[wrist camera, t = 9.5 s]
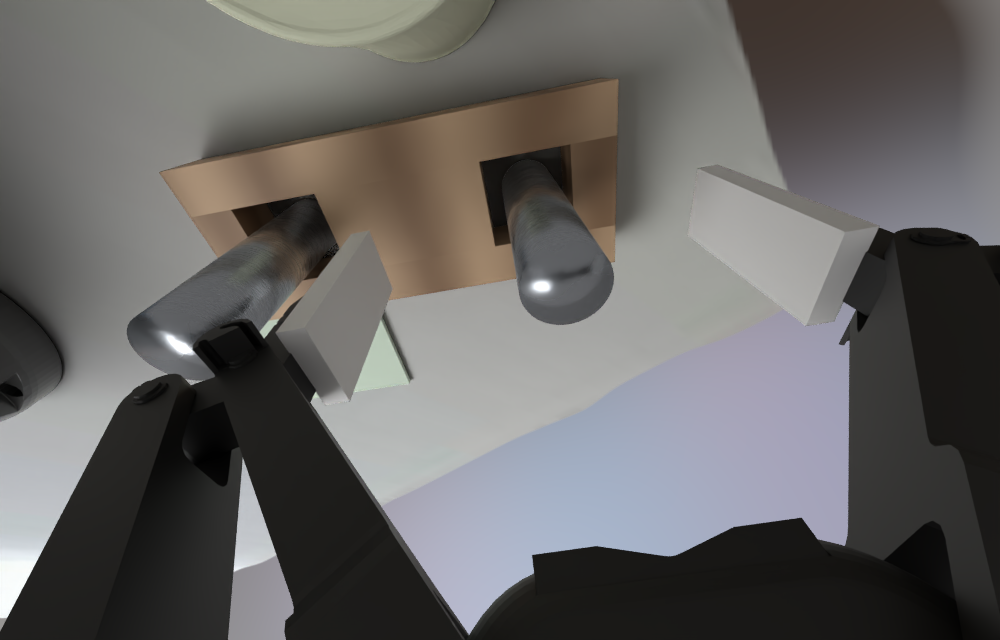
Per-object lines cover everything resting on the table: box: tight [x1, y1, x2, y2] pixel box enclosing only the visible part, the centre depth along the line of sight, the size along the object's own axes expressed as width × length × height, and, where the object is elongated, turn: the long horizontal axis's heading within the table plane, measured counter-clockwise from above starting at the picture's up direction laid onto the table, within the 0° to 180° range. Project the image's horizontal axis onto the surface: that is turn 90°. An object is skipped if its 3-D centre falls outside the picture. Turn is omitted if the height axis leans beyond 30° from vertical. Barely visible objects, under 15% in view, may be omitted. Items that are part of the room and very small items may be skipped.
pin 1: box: [127, 199, 336, 380], centre depth 17 cm, size 3×3×12 cm
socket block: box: [159, 78, 618, 321], centre depth 20 cm, size 22×9×3 cm, turn 100°
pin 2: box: [502, 160, 614, 325], centre depth 16 cm, size 3×3×12 cm
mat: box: [260, 317, 410, 399], centre depth 27 cm, size 12×10×1 cm
